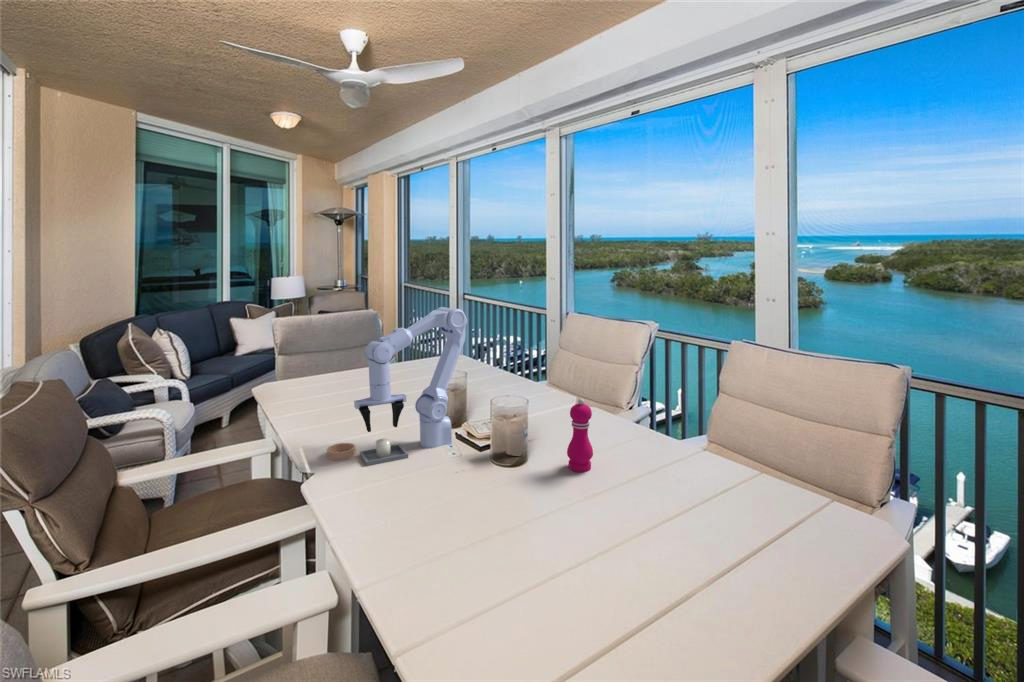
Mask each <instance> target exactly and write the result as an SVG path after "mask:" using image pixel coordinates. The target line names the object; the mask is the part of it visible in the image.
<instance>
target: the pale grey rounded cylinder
mask: <svg viewBox="0 0 1024 682" xmlns="http://www.w3.org/2000/svg"><path fill="white" fill-rule="evenodd" d="M375 446H376V447H375V449H376V452H377V458H378V459H381V458H386V457H391V448H390V446H391V439H390V438H379V439H376V441H375Z"/></svg>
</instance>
